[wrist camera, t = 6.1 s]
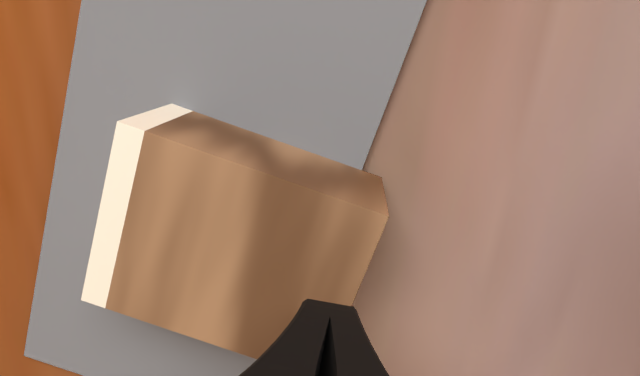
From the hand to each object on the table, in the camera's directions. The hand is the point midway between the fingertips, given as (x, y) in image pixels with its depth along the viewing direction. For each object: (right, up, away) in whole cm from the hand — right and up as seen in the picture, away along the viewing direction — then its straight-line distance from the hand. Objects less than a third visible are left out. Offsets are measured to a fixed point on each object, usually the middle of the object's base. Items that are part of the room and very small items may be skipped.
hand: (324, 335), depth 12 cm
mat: (-5, +4, +6) cm, 8 cm away
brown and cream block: (+1, +1, +4) cm, 4 cm away
